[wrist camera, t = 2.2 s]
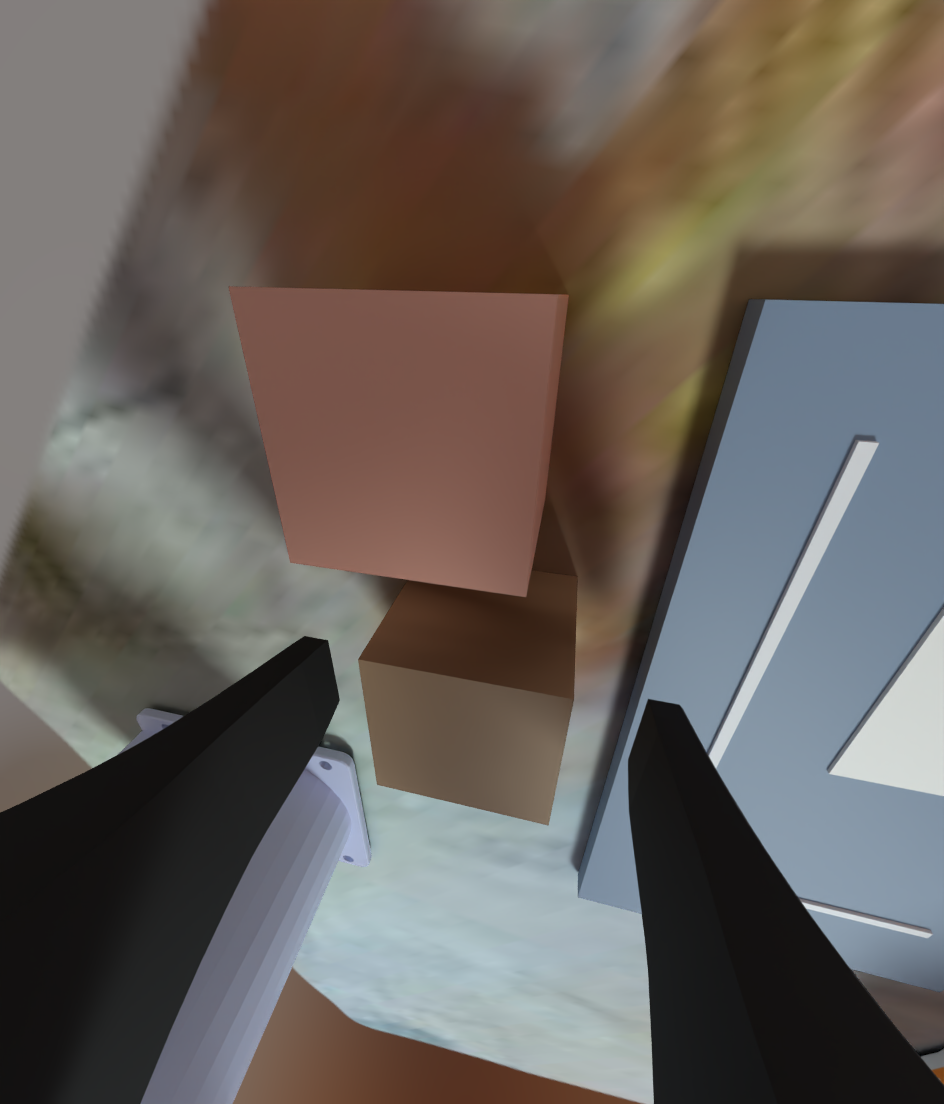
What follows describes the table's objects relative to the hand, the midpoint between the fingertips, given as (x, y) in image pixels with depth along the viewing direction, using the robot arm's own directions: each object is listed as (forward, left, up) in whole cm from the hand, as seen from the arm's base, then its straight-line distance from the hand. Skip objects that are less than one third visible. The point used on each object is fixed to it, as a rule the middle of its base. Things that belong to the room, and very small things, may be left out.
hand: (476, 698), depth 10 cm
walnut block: (0, 0, -3) cm, 3 cm away
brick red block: (-1, +6, -3) cm, 7 cm away
